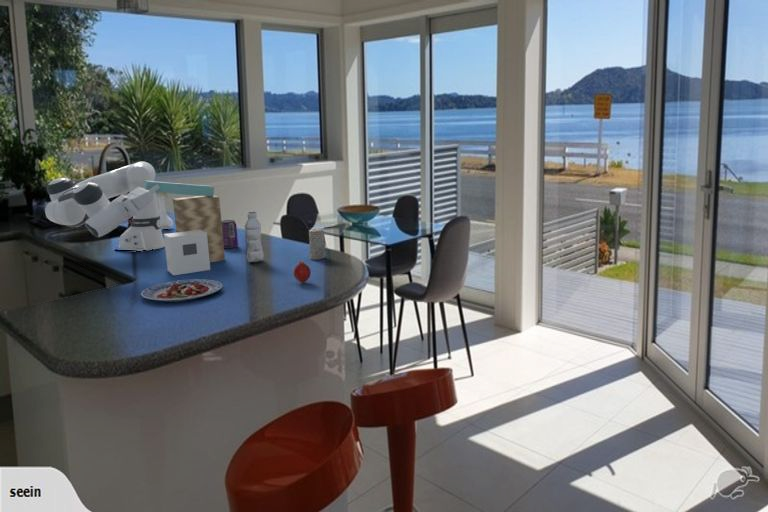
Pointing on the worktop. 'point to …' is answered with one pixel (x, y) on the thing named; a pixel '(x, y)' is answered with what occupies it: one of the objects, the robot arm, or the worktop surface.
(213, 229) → the oak stand
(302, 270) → the red pomegranate
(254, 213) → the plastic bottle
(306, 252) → the worktop surface
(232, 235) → the beverage can
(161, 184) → the teal block
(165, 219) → the flower vase
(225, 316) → the worktop surface
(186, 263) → the white box
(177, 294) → the ceramic plate
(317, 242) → the carving
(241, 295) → the worktop surface
